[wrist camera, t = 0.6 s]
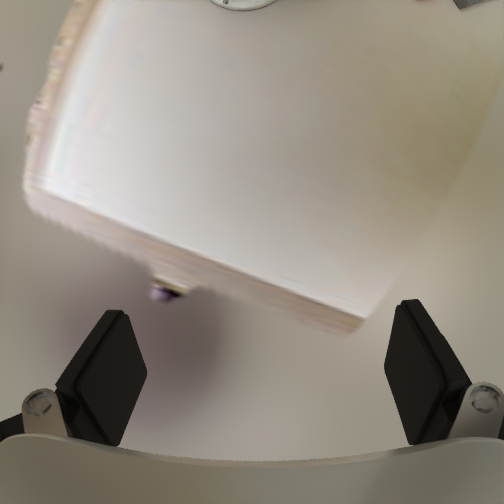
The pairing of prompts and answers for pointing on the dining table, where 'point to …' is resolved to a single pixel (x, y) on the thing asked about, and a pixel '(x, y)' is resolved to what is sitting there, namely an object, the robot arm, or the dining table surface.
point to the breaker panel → (465, 2)
